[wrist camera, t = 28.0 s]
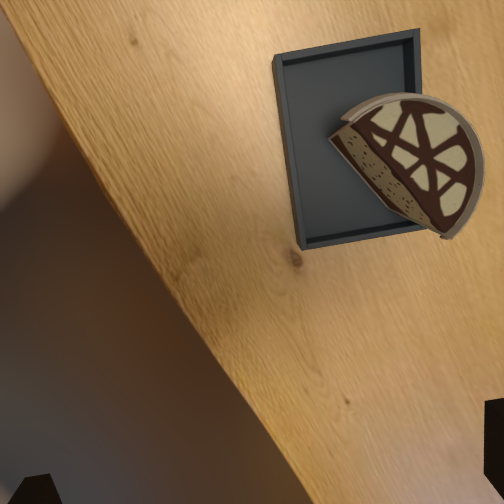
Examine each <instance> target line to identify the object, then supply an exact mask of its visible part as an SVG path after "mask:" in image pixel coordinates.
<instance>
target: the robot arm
mask: <svg viewBox="0 0 504 504" xmlns="http://www.w3.org/2000/svg"><path fill="white" fill-rule="evenodd" d="M484 475H485V476H486V477H487V479H488V480H489V481H490V483H491V484H492V485H493V486H494V488H495V489H496V490H497V492H498V493H499V494H500V496H501V497H502V498H503V500H504V398H500V399H494V400H488V401H485V414H484ZM8 504H62V502H61V499H60V497H59V494H58V492H57V490H56V487H55V485H54V482H53V480H52V478H51V475H50V474H44V475H38V476H32V477H26V478H24V480H23V481H22V483H21V484H20V486H19V487H18V489H17V490H16V492H15V493H14V495H13V496H12V498H11V499H10V501H9V502H8Z"/></svg>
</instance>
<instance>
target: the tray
mask: <svg viewBox="0 0 504 504" xmlns="http://www.w3.org/2000/svg"><path fill="white" fill-rule="evenodd" d="M272 70H273V77H274V85H275V92H276V99H277V106H278V113H279V120H280V127H281V134H282V141H283V148H284V155H285V162H286V169H287V176H288V183H289V190H290V197H291V204H292V212H293V219H294V226H295V233H296V240H297V244H298V246H299V247H300V249H301V250H302V251H304V250H307V249H308V250H309V249H315V248H321V247H326V246H332V245H338V244H344V243H349V242H355V241H361V240H366V239H372V238H378V237H384V236H389V235H395V234H401V233H407V232H412V231H418V230H424V229H427V228H426V227H423V226H421V225H419V224H417V223H415V222H413V221H411V220H409V219H407V218H405V217H403V216H401V215H399V214H396V213H394V212H392V211H390V210H388V209H387V208H386V207H385V205H384V204H383V203H382V202H381V201H380V200H379V198H378V197H377V196H376V195H375V194H374V193H373V192H372V190H371V189H370V188H369V187H368V186H367V185H366V183H365V182H364V181H363V180H362V179H361V178H360V176H359V175H358V174H357V173H356V172H355V171H354V169H353V168H352V167H351V166H350V165H349V164H348V162H347V161H346V160H345V159H344V158H343V157H342V156H341V154H340V153H339V152H338V151H337V150H336V149H335V147H334V146H333V145H332V144H331V143H330V142H329V140H328V139H327V138H328V137H330V136H331V135H332V134H333V133H334V132H336V131H337V130H339V129H340V128H341V127H343V126H344V125H346V124H347V123H348V122H349V121H345V120H341V119H340V118H341V117H342V116H343V115H345V114H346V113H347V112H348V111H349V110H351V109H352V108H354V107H356V106H357V105H359V104H360V103H362V102H364V101H366V100H369V99H371V98H374V97H376V96H380V95H384V94H388V93H400V92H406V93H416V94H422V73H421V45H420V28H417V29H411V30H405V31H400V32H395V33H389V34H384V35H378V36H373V37H367V38H362V39H356V40H351V41H346V42H340V43H335V44H329V45H324V46H318V47H313V48H308V49H302V50H297V51H291V52H286V53H282V54H275V55H274V58H273V61H272Z"/></svg>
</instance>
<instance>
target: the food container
mask: <svg viewBox="0 0 504 504" xmlns="http://www.w3.org/2000/svg"><path fill="white" fill-rule="evenodd" d="M340 119H341V120H345V121H349V122H348V123H347V124H346V125H344V126H343V127H341V128H340V129H339V130H337V131H336V132H334V133H333V134H332V135H331V136H330V137H328V138H327V139H328V140H329V142H330V143H331V144H332V145H333V146H334V147H335V149H336V150H337V151H338V152H339V153H340V154H341V156H342V157H343V158H344V159H345V160H346V161H347V162H348V164H349V165H350V166H351V167H352V168H353V169H354V171H355V172H356V173H357V174H358V175H359V176H360V178H361V179H362V180H363V181H364V182H365V183H366V185H367V186H368V187H369V188H370V189H371V190H372V192H373V193H374V194H375V195H376V196H377V197H378V198H379V200H380V201H381V202H382V203H383V204H384V205H385V207H386V208H387V209H388V210H390V211H392V212H394V213H396V214H399V215H401V216H403V217H405V218H407V219H409V220H411V221H413V222H415V223H417V224H419V225H421V226H423V227H426V228H428V229H430V230H432V231H434V232H436V233H438V234H440V235H441V236H440V238H441V239H446V240H449V239H451V240H452V239H453V238H454V237H455V236H456V235H457V234H458V233H459V232H460V231H461V230H462V229H463V228H464V226H465V225H466V224H467V223H468V221H469V220H470V218H471V216H472V215H473V213H474V211H475V209H476V207H477V205H478V202H479V200H480V198H481V194H482V190H483V186H484V179H485V158H484V153H483V148H482V145H481V142H480V140H479V137H478V135H477V133H476V131H475V130H474V128H473V126H472V125H471V124H470V122H469V121H468V120H467V119H466V118H465V117H464V116H463V115H462V114H461V113H460V112H459V111H458V110H456V109H455V108H454V107H453V106H451V105H450V104H448V103H446V102H444V101H442V100H440V99H438V98H435V97H431V96H428V95H423V94H416V93H406V92H400V93H388V94H384V95H380V96H376V97H374V98H371V99H369V100H366V101H364V102H362V103H360V104H359V105H357V106H356V107H354V108H352V109H351V110H349V111H348V112H347V113H346V114H345V115H343V116H342V117H341V118H340Z"/></svg>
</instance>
